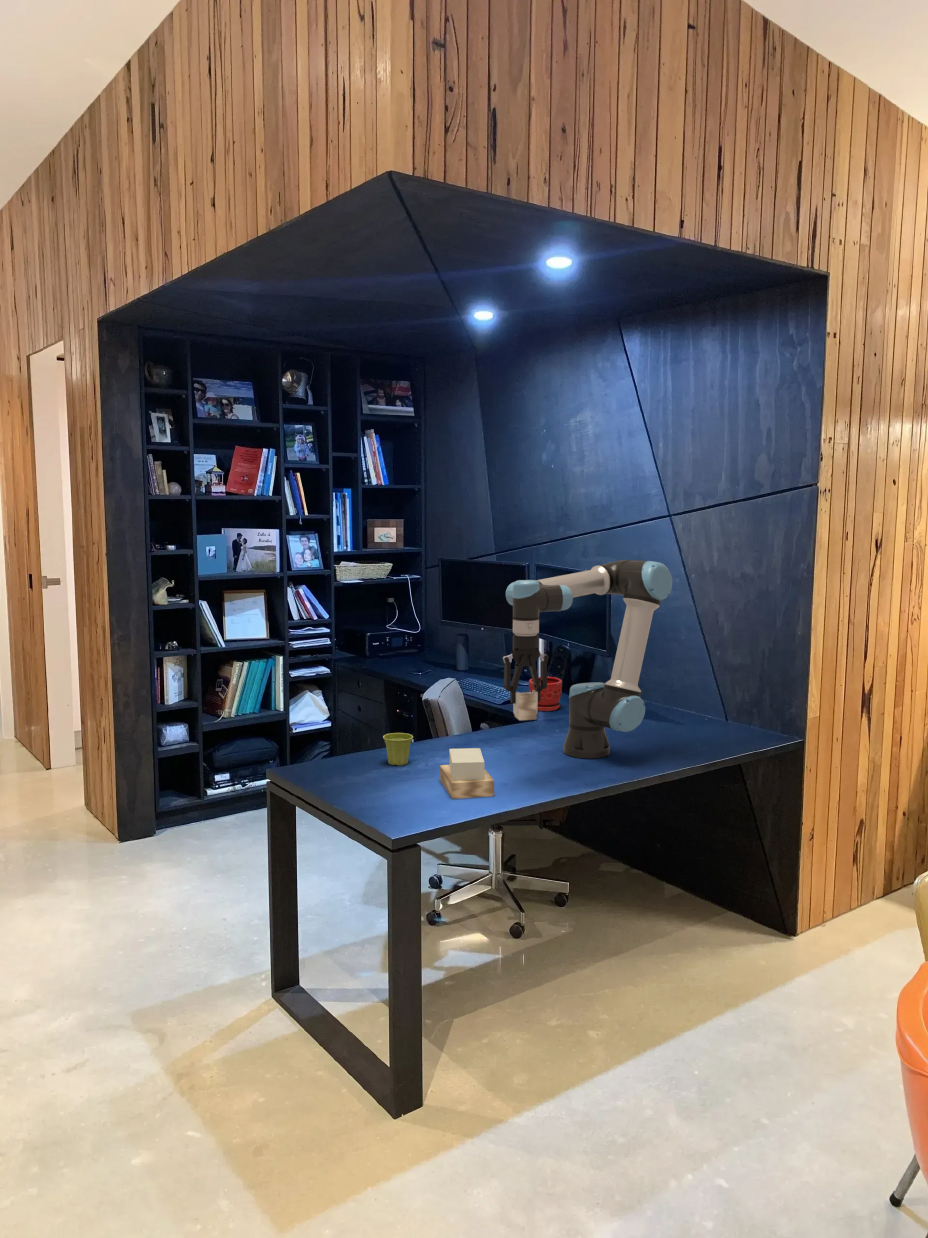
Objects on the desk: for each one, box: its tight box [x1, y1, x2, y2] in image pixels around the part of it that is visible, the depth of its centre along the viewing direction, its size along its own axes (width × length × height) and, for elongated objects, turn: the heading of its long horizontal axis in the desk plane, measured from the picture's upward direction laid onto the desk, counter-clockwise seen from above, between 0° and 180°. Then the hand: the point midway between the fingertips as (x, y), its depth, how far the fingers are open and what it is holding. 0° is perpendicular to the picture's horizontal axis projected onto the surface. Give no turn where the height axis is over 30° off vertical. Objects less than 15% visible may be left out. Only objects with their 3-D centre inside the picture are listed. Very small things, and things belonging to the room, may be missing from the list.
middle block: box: [448, 747, 486, 780], centre depth 262 cm, size 9×15×5 cm, turn 4°
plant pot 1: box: [382, 732, 414, 766], centre depth 287 cm, size 9×9×9 cm
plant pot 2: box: [528, 676, 563, 712], centre depth 364 cm, size 13×13×12 cm
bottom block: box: [439, 764, 495, 800], centre depth 262 cm, size 12×18×5 cm, turn 12°
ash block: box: [514, 691, 537, 721], centre depth 264 cm, size 5×5×7 cm
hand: (525, 713), depth 265 cm, fingers closed on ash block, 5 cm apart
